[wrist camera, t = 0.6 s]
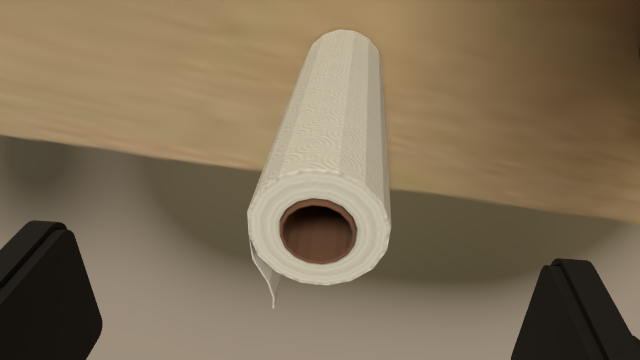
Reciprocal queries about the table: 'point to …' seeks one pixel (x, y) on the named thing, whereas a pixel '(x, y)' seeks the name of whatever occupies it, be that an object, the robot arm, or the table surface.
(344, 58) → the grey tall block
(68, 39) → the table surface
